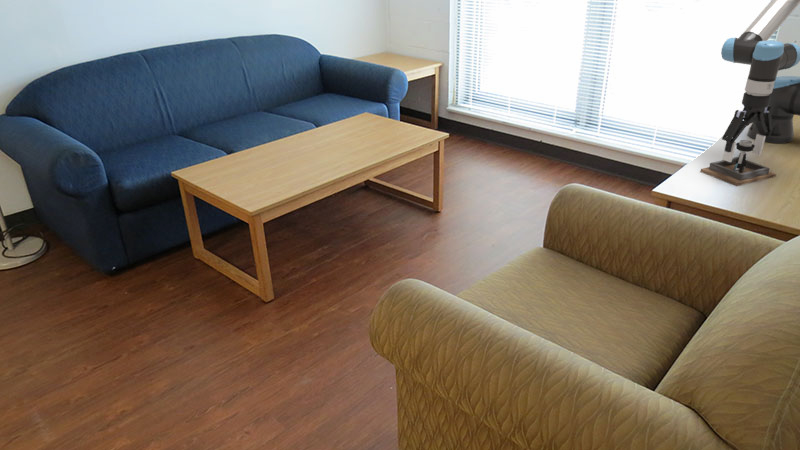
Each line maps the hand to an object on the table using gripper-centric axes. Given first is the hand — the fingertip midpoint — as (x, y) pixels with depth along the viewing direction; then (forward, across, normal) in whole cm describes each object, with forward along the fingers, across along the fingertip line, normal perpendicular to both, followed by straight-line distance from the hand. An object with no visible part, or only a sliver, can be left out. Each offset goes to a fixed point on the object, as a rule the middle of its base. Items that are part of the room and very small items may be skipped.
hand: (741, 157), depth 195 cm
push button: (+5, 0, 0) cm, 5 cm away
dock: (+6, 0, 0) cm, 6 cm away
